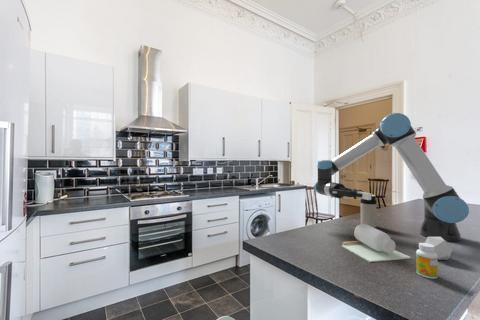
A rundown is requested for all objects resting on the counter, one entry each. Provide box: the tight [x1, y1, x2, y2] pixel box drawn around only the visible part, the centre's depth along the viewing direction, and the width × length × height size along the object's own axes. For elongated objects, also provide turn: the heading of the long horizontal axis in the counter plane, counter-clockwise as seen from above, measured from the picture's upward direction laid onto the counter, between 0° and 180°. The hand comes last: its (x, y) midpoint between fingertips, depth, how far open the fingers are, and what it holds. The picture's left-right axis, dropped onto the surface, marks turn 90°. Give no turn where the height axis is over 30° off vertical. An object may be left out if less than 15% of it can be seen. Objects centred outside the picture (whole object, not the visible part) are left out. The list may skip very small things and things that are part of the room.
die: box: [424, 237, 455, 261], centre depth 87 cm, size 8×9×10 cm
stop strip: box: [341, 240, 364, 246], centre depth 101 cm, size 1×16×2 cm, turn 102°
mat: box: [341, 244, 412, 263], centre depth 92 cm, size 16×18×1 cm
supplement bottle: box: [415, 242, 439, 280], centre depth 74 cm, size 5×5×10 cm
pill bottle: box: [353, 223, 397, 253], centre depth 94 cm, size 8×8×15 cm
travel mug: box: [360, 193, 378, 228], centre depth 131 cm, size 8×8×18 cm
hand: (369, 196), depth 95 cm, fingers closed
